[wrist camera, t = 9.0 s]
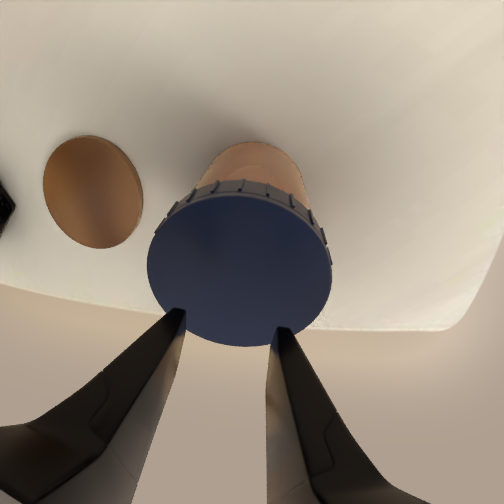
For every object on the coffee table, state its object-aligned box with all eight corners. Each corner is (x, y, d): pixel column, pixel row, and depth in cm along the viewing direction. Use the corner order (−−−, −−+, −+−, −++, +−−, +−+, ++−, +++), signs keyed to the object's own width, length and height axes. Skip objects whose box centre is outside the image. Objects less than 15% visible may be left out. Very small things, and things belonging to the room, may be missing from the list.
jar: (242, 248, 22) (224, 351, 14) (185, 178, 19) (126, 256, 11) (321, 203, 20) (350, 296, 12) (266, 122, 17) (259, 161, 9)
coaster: (97, 262, 24) (94, 266, 23) (32, 186, 20) (28, 188, 19) (167, 205, 20) (164, 208, 20) (89, 109, 17) (85, 111, 16)
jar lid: (226, 339, 15) (222, 364, 14) (127, 239, 12) (111, 260, 11) (355, 280, 13) (362, 305, 11) (263, 139, 10) (262, 150, 8)
